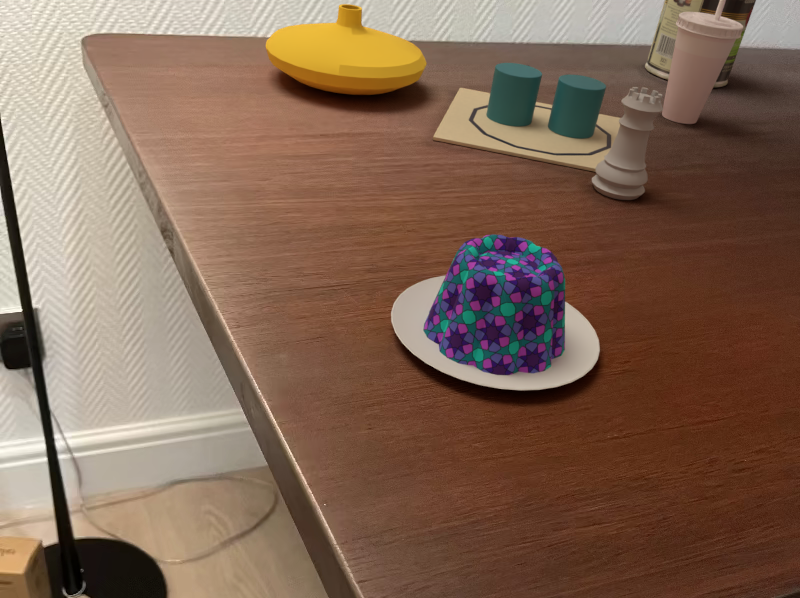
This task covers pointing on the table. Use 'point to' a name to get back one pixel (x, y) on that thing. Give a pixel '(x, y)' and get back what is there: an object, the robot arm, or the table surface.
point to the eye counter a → (513, 94)
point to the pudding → (498, 318)
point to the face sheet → (523, 134)
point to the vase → (345, 56)
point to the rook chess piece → (629, 148)
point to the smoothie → (697, 62)
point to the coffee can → (663, 43)
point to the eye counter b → (576, 106)
